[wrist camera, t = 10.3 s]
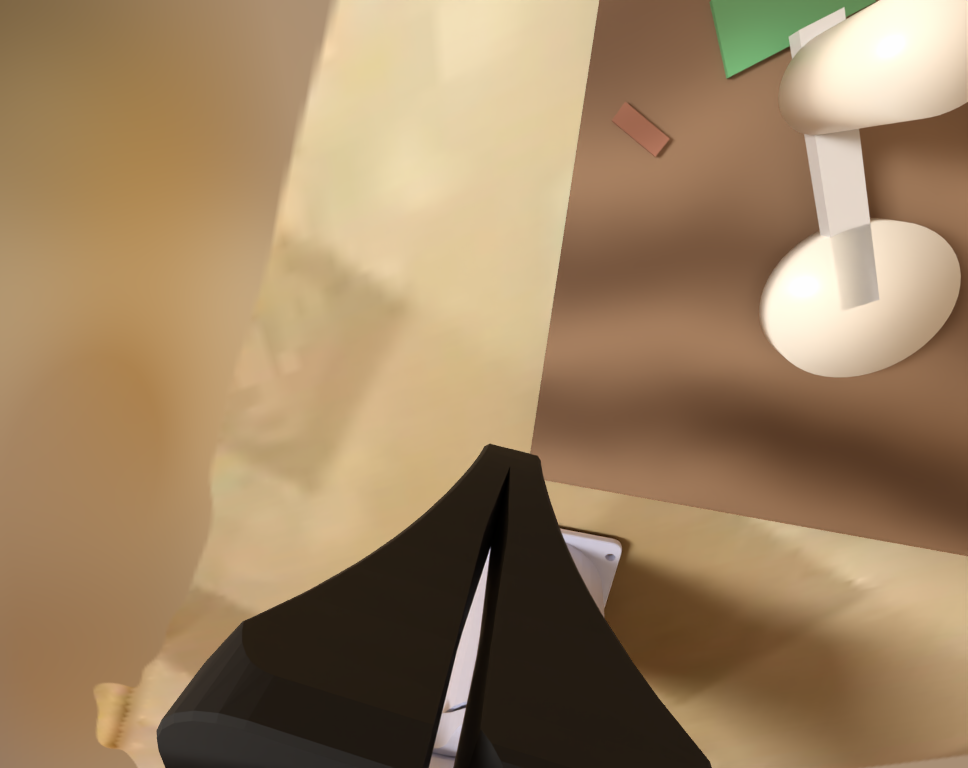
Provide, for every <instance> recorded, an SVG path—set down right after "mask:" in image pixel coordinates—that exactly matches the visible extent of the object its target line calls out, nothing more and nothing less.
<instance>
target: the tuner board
mask: <svg viewBox="0 0 968 768" xmlns="http://www.w3.org/2000/svg"><path fill="white" fill-rule="evenodd" d="M877 1H879V0H599V7H598V13H597V20H596V26H595V33H594V40H593V46H592V53H591V59H590V66H589V72H588V79H587V85H586V92H585V99H584V105H583V112H582V118H581V125H580V131H579V138H578V144H577V151H576V157H575V164H574V171H573V177H572V184H571V190H570V197H569V203H568V210H567V216H566V223H565V230H564V236H563V243H562V249H561V256H560V262H559V269H558V275H557V282H556V289H555V295H554V302H553V308H552V315H551V321H550V328H549V334H548V341H547V348H546V354H545V361H544V367H543V374H542V380H541V387H540V393H539V400H538V407H537V413H536V420H535V426H534V433H533V439H532V446H531V452H530V454H533V455H537V456H538V457H539V459H540V460H541V466H542V472H543V477H544V480H546V481H552V482H558V483H563V484H569V485H574V486H580V487H585V488H591V489H597V490H602V491H608V492H613V493H619V494H624V495H630V496H636V497H641V498H647V499H652V500H658V501H664V502H669V503H675V504H680V505H686V506H691V507H697V508H703V509H708V510H714V511H719V512H725V513H730V514H736V515H742V516H747V517H753V518H758V519H764V520H769V521H775V522H781V523H786V524H792V525H797V526H803V527H808V528H814V529H820V530H825V531H831V532H836V533H842V534H848V535H853V536H859V537H864V538H870V539H875V540H881V541H887V542H892V543H898V544H903V545H909V546H914V547H920V548H926V549H931V550H937V551H942V552H948V553H953V554H959V555H965V556H968V102H967V103H965V104H963V105H962V106H960V107H958V108H956V109H954V110H952V111H949V112H947V113H944V114H941V115H938V116H934V117H930V118H924V119H918V120H911V121H905V122H898V123H892V124H885V125H879V126H872V127H866V128H860V129H859V133H860V141H861V149H862V158H863V166H864V174H865V183H866V191H867V199H868V208H869V216H870V218H882V219H889V220H895V221H902V222H908V223H914V224H917V225H920V226H923V227H926V228H928V229H930V230H932V231H934V232H936V233H937V234H938V235H940V236H941V237H942V238H944V239H945V240H946V241H947V243H948V244H949V245H950V246H951V247H952V249H953V251H954V252H955V254H956V256H957V259H958V262H959V266H960V273H961V282H960V290H959V294H958V298H957V300H956V303H955V306H954V308H953V310H952V312H951V314H950V316H949V317H948V319H947V320H946V322H945V323H944V325H943V326H942V327H941V329H940V330H939V331H938V332H937V333H936V334H935V335H934V337H932V338H931V339H930V340H929V341H928V342H927V343H926V344H925V345H924V346H923V347H921V348H920V349H919V350H917V351H916V352H915V353H913V354H912V355H910V356H909V357H907V358H905V359H904V360H902V361H900V362H898V363H896V364H894V365H892V366H890V367H887V368H885V369H882V370H879V371H876V372H873V373H870V374H865V375H860V376H854V377H825V376H820V375H815V374H812V373H809V372H806V371H804V370H802V369H800V368H798V367H796V366H795V365H794V364H792V363H791V362H789V361H788V360H787V359H786V358H785V357H784V356H783V355H781V354H780V353H779V352H778V351H777V350H776V349H775V348H774V347H773V346H772V345H771V344H770V343H769V341H768V340H767V339H766V337H765V335H764V333H763V330H762V327H761V324H760V317H759V306H760V300H761V295H762V292H763V289H764V286H765V284H766V282H767V280H768V278H769V276H770V275H771V273H772V271H773V270H774V268H775V267H776V266H777V264H778V263H779V262H780V261H781V259H782V258H783V257H784V256H785V255H786V254H787V253H788V252H789V251H790V250H791V249H793V248H794V247H795V246H796V245H797V244H799V243H800V242H802V241H803V240H804V239H806V238H807V237H809V236H811V235H812V234H814V233H816V232H818V231H820V229H819V223H818V217H817V210H816V204H815V198H814V192H813V186H812V179H811V173H810V167H809V161H808V155H807V148H806V142H805V136H804V134H803V133H800V132H798V131H796V130H794V129H793V128H791V127H790V126H789V125H788V124H787V123H786V122H785V120H784V118H783V116H782V114H781V112H780V108H779V89H780V84H781V80H782V78H783V75H784V72H785V71H786V69H787V67H788V65H789V63H790V62H791V60H792V55H791V49H790V43H789V36H791V35H792V34H794V33H795V32H797V31H799V30H800V29H802V28H804V27H806V26H808V25H810V24H812V23H814V22H816V21H818V20H820V19H822V18H824V17H826V16H828V15H830V14H832V13H834V12H836V11H838V10H840V9H842V8H843V7H844V8H845V16H846V19H847V18H849V17H851V16H853V15H854V14H856V13H858V12H860V11H861V10H863V9H865V8H867V7H869V6H870V5H872V4H874V3H876V2H877Z"/></svg>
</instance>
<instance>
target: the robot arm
mask: <svg viewBox="0 0 968 768" xmlns="http://www.w3.org/2000/svg"><path fill="white" fill-rule="evenodd" d="M621 553H622V545H621V543H620V542H619V541H618V540H616V539H612V538H607V537H602V536H596V535H591V534H586V533H581V532H576V531H571V530H565V529H560V527H559V525H558V522H557V519H556V516H555V514H554V511H553V508H552V505H551V502H550V499H549V495H548V492H547V488H546V485H545V481H544V477H543V472H542V466H541V460H540V459H539V457H538V456H537V455H533V454H529V453H525V452H521V451H517V450H513V449H509V448H504V447H500V446H496V445H492V444H488V445H486V446H485V447H484V448H483V450H482V452H481V453H480V455H479V456H478V458H477V459H476V460H475V462H474V463H473V464H472V465H471V467H470V468H469V469H468V470H467V472H466V473H465V474H464V475H463V476H462V477H461V478H460V479H459V480H458V481H457V483H456V484H455V485H454V486H453V487H452V488H451V489H450V490H449V491H448V492H447V493H446V494H445V495H444V496H443V497H442V498H441V499H440V500H439V501H438V502H436V503H435V504H434V505H433V506H432V507H431V508H430V509H429V510H428V511H427V512H426V513H425V514H423V515H422V516H421V517H420V518H419V519H417V520H416V521H415V522H414V523H413V524H411V525H410V526H409V527H408V528H406V529H405V530H404V531H402V532H401V533H400V534H398V535H397V536H396V537H394V538H393V539H392V540H390V541H389V542H387V543H386V544H384V545H383V546H382V547H380V548H379V549H377V550H376V551H374V552H373V553H371V554H370V555H368V556H367V557H365V558H364V559H362V560H361V561H359V562H357V563H356V564H354V565H353V566H351V567H349V568H347V569H346V570H344V571H342V572H340V573H339V574H337V575H335V576H333V577H331V578H330V579H328V580H326V581H324V582H323V583H321V584H319V585H317V586H316V587H314V588H312V589H310V590H308V591H306V592H304V593H302V594H300V595H298V596H296V597H294V598H292V599H290V600H288V601H286V602H284V603H281V604H279V605H277V606H275V607H273V608H271V609H269V610H267V611H265V612H263V613H260V614H258V615H256V616H254V617H252V618H250V619H247V620H245V621H243V622H242V623H241V624H240V625H239V626H238V627H237V628H236V629H235V630H234V631H233V632H232V634H231V635H230V636H229V637H228V638H227V639H226V640H225V641H224V642H223V643H222V644H221V646H220V647H219V648H218V649H217V650H216V651H215V652H214V653H213V654H212V655H211V656H210V658H209V659H208V660H207V661H206V662H205V663H204V665H203V666H202V667H201V668H200V670H199V671H198V672H197V674H196V675H195V676H194V678H193V679H192V680H191V682H190V683H189V684H188V686H187V687H186V688H185V690H184V691H183V692H182V694H181V695H180V696H179V698H178V699H177V700H176V702H175V703H174V704H173V706H172V707H171V708H170V710H169V711H168V712H167V714H166V715H165V716H164V718H163V719H162V720H161V723H160V725H159V727H158V729H157V742H158V748H159V753H160V755H161V758H162V760H163V763H164V765H165V768H712V767H711V764H710V761H709V760H708V759H707V757H706V756H705V755H704V754H703V753H702V751H701V750H700V749H699V748H698V746H697V745H696V744H695V743H694V741H693V740H692V739H691V738H690V736H689V735H688V734H687V733H686V731H685V730H684V729H683V728H682V727H681V725H680V724H679V723H678V722H677V720H676V719H675V718H674V717H673V715H672V714H671V713H670V712H669V710H668V709H667V708H666V707H665V705H664V704H663V703H662V702H661V701H660V699H659V698H658V697H657V695H656V694H655V693H654V691H653V690H652V688H651V687H650V686H649V684H648V683H647V681H646V680H645V679H644V677H643V676H642V674H641V673H640V672H639V670H638V669H637V668H636V666H635V665H634V663H633V662H632V660H631V659H630V657H629V655H628V654H627V652H626V651H625V649H624V648H623V646H622V645H621V643H620V642H619V640H618V639H617V637H616V635H615V634H614V632H613V631H612V629H611V628H610V626H609V625H608V623H607V622H606V620H605V617H604V608H605V605H606V602H607V598H608V595H609V592H610V589H611V586H612V582H613V579H614V576H615V573H616V569H617V566H618V563H619V560H620V557H621ZM607 554H613V555H607Z"/></svg>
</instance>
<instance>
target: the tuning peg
mask: <svg viewBox="0 0 968 768" xmlns="http://www.w3.org/2000/svg"><path fill="white" fill-rule="evenodd" d="M789 43H790V49H791V55H792V60H791V62H790V63H789V65H788V67H787V69H786V71H785V72H784V75H783V78H782V80H781V84H780V89H779V108H780V112H781V114H782V116H783V118H784V120H785V122H786V123H787V124H788V125H789V126H790V127H791V128H793V129H794V130H796V131H798V132H800V133H803V134H804V136H805V142H806V148H807V155H808V161H809V167H810V173H811V179H812V186H813V192H814V198H815V204H816V210H817V217H818V223H819V229H820V231H818V232H816V233H814V234H812V235H811V236H809V237H807V238H806V239H804V240H803V241H802V242H800V243H799V244H797V245H796V246H795V247H794V248H793V249H791V250H790V251H789V252H788V253H787V254H786V255H785V256H784V257H783V258H782V259H781V261H780V262H779V263H778V264H777V266H776V267H775V268H774V270H773V271H772V273H771V275H770V276H769V278H768V280H767V282H766V284H765V286H764V289H763V292H762V295H761V300H760V306H759V317H760V324H761V327H762V330H763V333H764V335H765V337H766V339H767V340H768V341H769V343H770V344H771V345H772V346H773V347H774V348H775V349H776V350H777V351H778V352H779V353H780V354H781V355H783V356H784V357H785V358H786V359H787V360H788V361H789V362H791V363H792V364H794V365H795V366H796V367H798V368H800V369H802V370H804V371H806V372H809V373H812V374H815V375H820V376H825V377H854V376H860V375H865V374H870V373H873V372H876V371H879V370H882V369H885V368H887V367H890V366H892V365H894V364H896V363H898V362H900V361H902V360H904V359H905V358H907V357H909V356H910V355H912V354H913V353H915V352H916V351H917V350H919V349H920V348H921V347H923V346H924V345H925V344H926V343H927V342H928V341H929V340H930V339H931V338H932V337H934V335H935V334H936V333H937V332H938V331H939V330H940V329H941V327H942V326H943V325H944V323H945V322H946V320H947V319H948V317H949V316H950V314H951V312H952V310H953V308H954V306H955V303H956V300H957V298H958V294H959V290H960V282H961V273H960V266H959V262H958V259H957V256H956V254H955V252H954V251H953V249H952V247H951V246H950V245H949V244H948V243H947V241H946V240H945V239H944V238H942V237H941V236H940V235H938V234H937V233H936V232H934V231H932V230H930V229H928V228H926V227H923V226H920V225H917V224H914V223H908V222H902V221H895V220H889V219H882V218H870V216H869V208H868V199H867V191H866V183H865V174H864V166H863V158H862V149H861V141H860V133H859V129H860V128H866V127H872V126H879V125H885V124H892V123H898V122H905V121H911V120H918V119H924V118H930V117H934V116H938V115H941V114H944V113H947V112H949V111H952V110H954V109H956V108H958V107H960V106H962V105H963V104H965V103H967V102H968V0H879V1H877V2H876V3H874V4H872V5H870V6H869V7H867V8H865V9H863V10H861V11H860V12H858V13H856V14H854V15H853V16H851V17H849V18H847V19H846V16H845V8H844V7H843V8H842V9H840V10H838V11H836V12H834V13H832V14H830V15H828V16H826V17H824V18H822V19H820V20H818V21H816V22H814V23H812V24H810V25H808V26H806V27H804V28H802V29H800V30H799V31H797V32H795V33H794V34H792V35H791V36H789Z"/></svg>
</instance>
